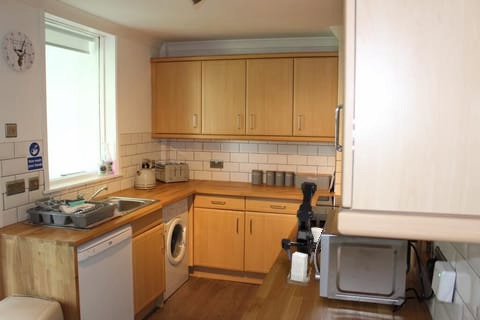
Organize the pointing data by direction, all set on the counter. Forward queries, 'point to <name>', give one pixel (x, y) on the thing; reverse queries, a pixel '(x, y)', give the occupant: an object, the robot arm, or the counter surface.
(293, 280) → the wooden divided tray
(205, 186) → the counter surface
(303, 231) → the robot arm
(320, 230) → the white cup
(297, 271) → the skincare box
